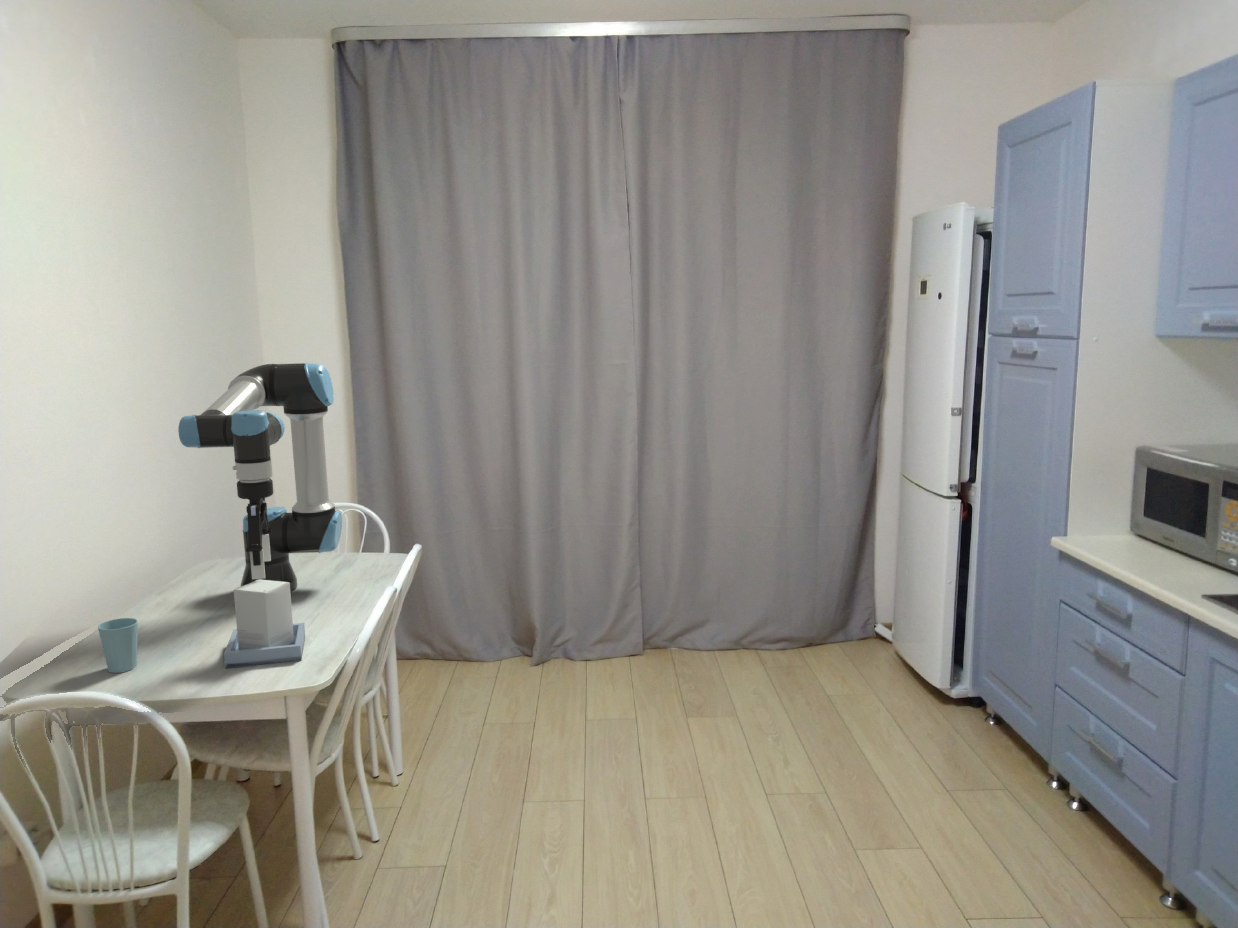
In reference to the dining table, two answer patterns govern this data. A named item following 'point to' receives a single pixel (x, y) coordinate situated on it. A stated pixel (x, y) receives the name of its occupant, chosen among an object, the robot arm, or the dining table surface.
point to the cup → (119, 644)
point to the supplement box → (263, 614)
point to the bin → (265, 651)
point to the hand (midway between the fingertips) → (261, 569)
